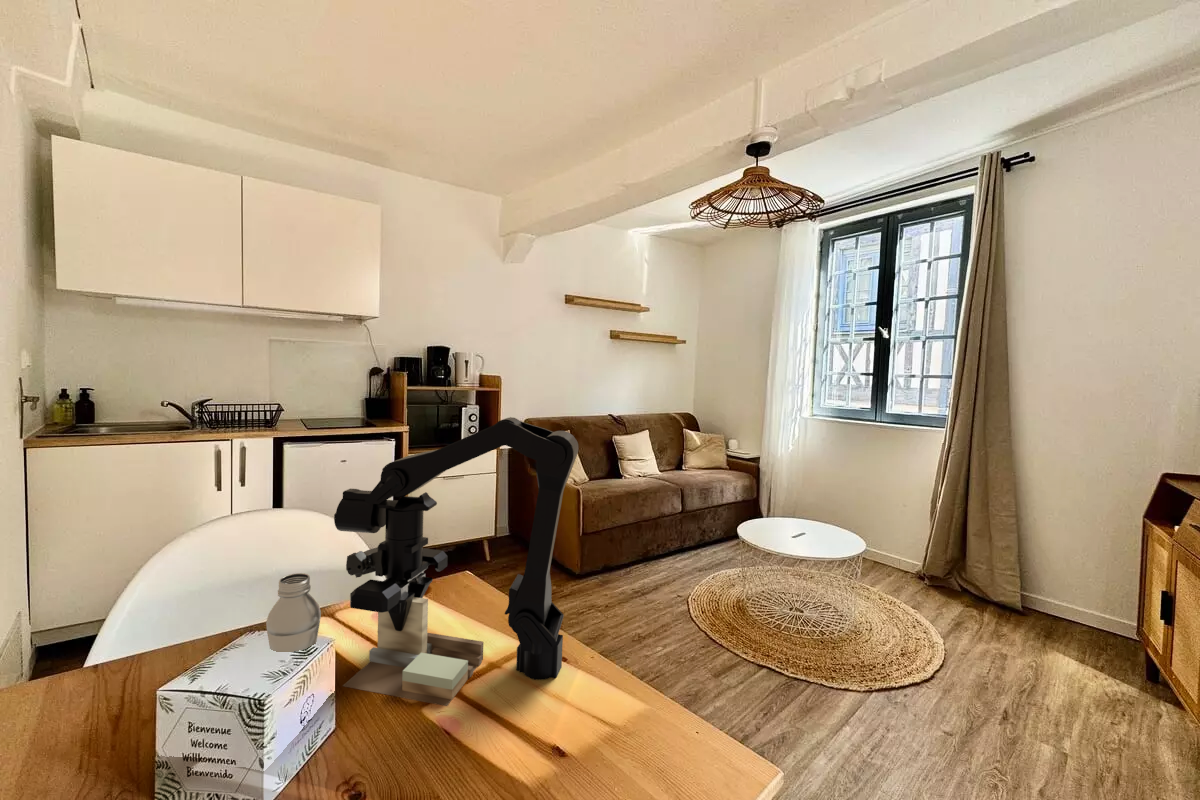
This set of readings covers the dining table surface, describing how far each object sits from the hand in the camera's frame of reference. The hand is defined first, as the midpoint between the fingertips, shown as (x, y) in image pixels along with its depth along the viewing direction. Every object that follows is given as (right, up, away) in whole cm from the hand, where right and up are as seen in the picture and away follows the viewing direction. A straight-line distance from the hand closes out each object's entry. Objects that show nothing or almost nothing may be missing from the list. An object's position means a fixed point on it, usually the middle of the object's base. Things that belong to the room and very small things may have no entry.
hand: (402, 627), depth 83 cm
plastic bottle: (-9, -7, -14) cm, 18 cm away
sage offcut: (+8, -4, -7) cm, 11 cm away
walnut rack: (+3, -6, -3) cm, 8 cm away
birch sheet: (0, -5, 0) cm, 5 cm away
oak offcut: (+8, -6, -6) cm, 11 cm away
